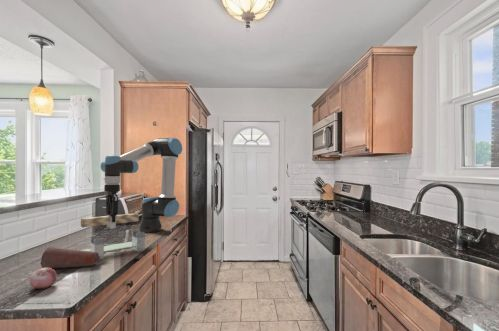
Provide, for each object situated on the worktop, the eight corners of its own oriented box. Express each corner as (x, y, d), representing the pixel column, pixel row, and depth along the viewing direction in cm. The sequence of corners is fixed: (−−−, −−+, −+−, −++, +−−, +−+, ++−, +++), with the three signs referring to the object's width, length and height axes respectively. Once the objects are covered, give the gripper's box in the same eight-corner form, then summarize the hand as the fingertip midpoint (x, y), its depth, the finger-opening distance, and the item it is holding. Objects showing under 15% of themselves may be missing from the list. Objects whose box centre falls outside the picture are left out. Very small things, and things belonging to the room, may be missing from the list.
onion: (28, 293, 96) (29, 272, 96) (29, 286, 102) (30, 266, 102) (56, 288, 100) (57, 268, 100) (56, 281, 107) (56, 262, 107)
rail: (135, 220, 161) (136, 213, 162) (138, 221, 159) (138, 213, 159) (80, 226, 142) (80, 218, 142) (82, 227, 139) (82, 219, 139)
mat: (137, 241, 165) (137, 240, 165) (144, 245, 158) (144, 244, 158) (74, 252, 143) (74, 251, 143) (79, 256, 136) (79, 255, 136)
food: (39, 272, 116) (40, 250, 116) (49, 264, 125) (50, 244, 125) (96, 268, 121) (96, 247, 121) (101, 261, 130) (102, 242, 130)
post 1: (99, 254, 139) (99, 235, 139) (103, 258, 134) (103, 238, 134) (90, 256, 136) (90, 237, 136) (94, 260, 131) (94, 239, 131)
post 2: (139, 247, 153) (139, 230, 153) (144, 250, 148) (144, 232, 148) (131, 248, 150) (132, 231, 150) (137, 251, 145) (137, 233, 145)
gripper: (100, 183, 154) (98, 226, 154) (110, 185, 142) (108, 231, 142) (114, 183, 160) (113, 224, 159) (125, 184, 147) (124, 229, 147)
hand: (111, 227), depth 150 cm, fingers closed on rail, 4 cm apart
